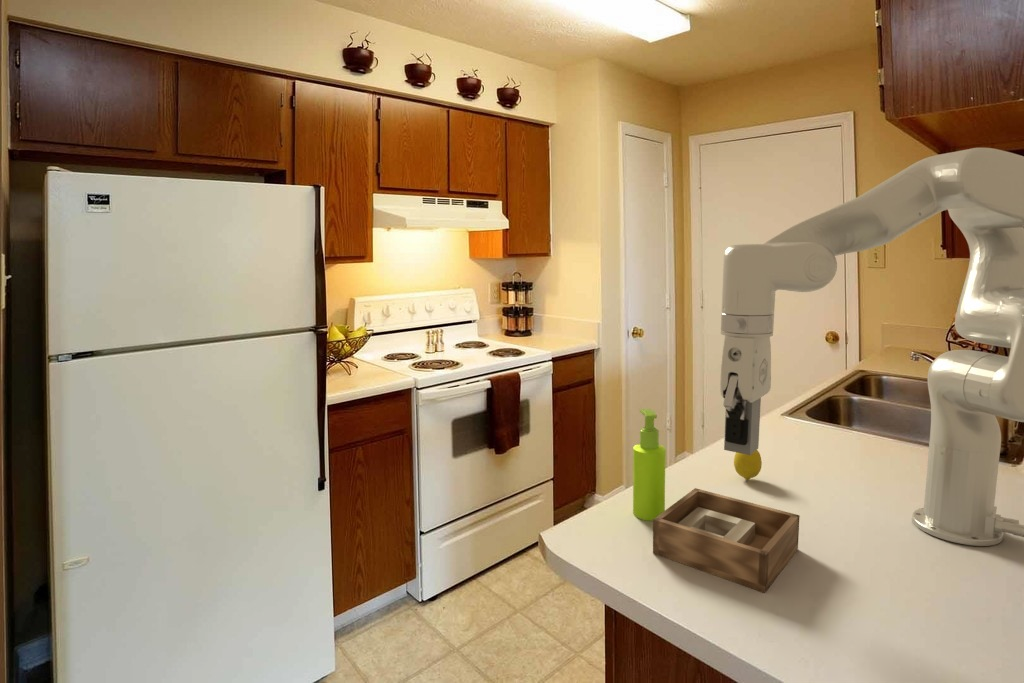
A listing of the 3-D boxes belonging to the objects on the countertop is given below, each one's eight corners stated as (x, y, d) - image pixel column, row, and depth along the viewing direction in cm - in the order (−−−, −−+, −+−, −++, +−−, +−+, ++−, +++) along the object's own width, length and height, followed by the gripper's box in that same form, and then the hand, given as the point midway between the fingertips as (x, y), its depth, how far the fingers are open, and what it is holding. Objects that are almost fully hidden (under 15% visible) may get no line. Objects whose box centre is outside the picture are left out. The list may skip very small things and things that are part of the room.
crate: (797, 549, 96) (799, 515, 95) (764, 593, 84) (766, 554, 83) (694, 518, 108) (695, 488, 107) (652, 553, 96) (653, 519, 95)
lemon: (756, 475, 127) (757, 440, 126) (764, 485, 122) (766, 448, 120) (730, 474, 128) (731, 440, 126) (737, 484, 122) (738, 448, 121)
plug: (758, 448, 92) (761, 387, 91) (749, 455, 89) (752, 392, 88) (733, 443, 95) (735, 384, 93) (724, 449, 92) (726, 388, 90)
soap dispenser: (657, 504, 114) (658, 406, 111) (668, 520, 108) (670, 416, 104) (628, 505, 114) (628, 407, 111) (637, 521, 107) (637, 417, 104)
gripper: (753, 333, 80) (747, 459, 83) (788, 321, 93) (782, 431, 96) (701, 329, 85) (697, 448, 88) (741, 318, 98) (736, 423, 100)
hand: (741, 438), depth 92 cm, fingers closed on plug, 4 cm apart
